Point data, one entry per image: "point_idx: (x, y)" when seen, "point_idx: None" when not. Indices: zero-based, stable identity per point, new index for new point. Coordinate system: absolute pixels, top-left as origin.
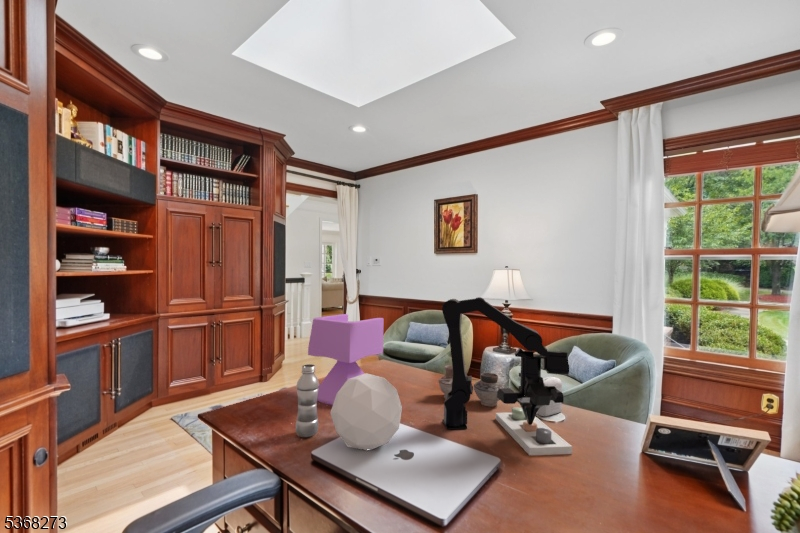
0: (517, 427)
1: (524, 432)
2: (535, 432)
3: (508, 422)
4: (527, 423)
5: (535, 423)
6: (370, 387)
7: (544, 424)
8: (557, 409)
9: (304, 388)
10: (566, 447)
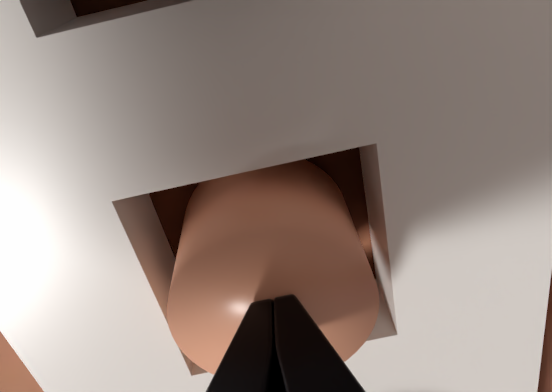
0: (445, 259)
1: (410, 112)
2: (225, 143)
3: (498, 363)
4: None
5: (183, 344)
6: None
7: (55, 390)
8: None
9: None
10: None
